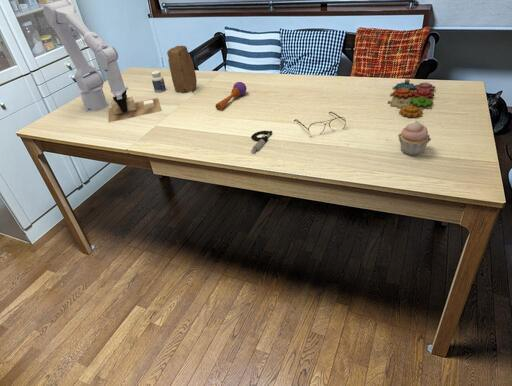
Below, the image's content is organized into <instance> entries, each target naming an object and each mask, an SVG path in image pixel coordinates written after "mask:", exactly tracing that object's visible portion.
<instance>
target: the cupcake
mask: <svg viewBox="0 0 512 386" xmlns="http://www.w3.org/2000/svg"><path fill="white" fill-rule="evenodd" d="M397 137H398V141H399V143H400V145H399V146H400V150H401V152H402V153H403V154H405V155H408V156H419V155H421V154H422V153H423V152H424V150H425V148H426V147H427V145H428V143H430V141H431V140H432V138H431V136H430V135H429V132H428V128H427V127H426V126H425V125H424V124H422V123H421V122H420V121H417V120H415V121H414V122H413V123H409V124H406V126H405V127H404V128H403V129H402V130H401V132H400V133H399V134H397Z"/></svg>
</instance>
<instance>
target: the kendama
mask: <svg viewBox="0 0 512 386" xmlns="http://www.w3.org/2000/svg"><path fill="white" fill-rule="evenodd" d="M247 88H248V87H247V85H246V83H244V82H242V81H237V82H236V83H234V84H233V87H232V89H231V93H230V95H229V96H227V97H226V98H224V99H222V100H220V101H219V102H217V103H216V104H215V109H216V110H217V111H223V110H224V108H225V106H227V104H228V103H229V102H230V101H231V100H232V99H233V98H239V97H241V96H244V95H245V94H246V93H247Z"/></svg>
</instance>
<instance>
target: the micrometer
mask: <svg viewBox="0 0 512 386" xmlns="http://www.w3.org/2000/svg"><path fill="white" fill-rule="evenodd" d="M272 134H273V131H272V130H260V131H257V132H255V133H253V134H252V135H251V140H252V141H254V142H256V143H255V144H254V145H253V146H252V147H251V150H250V153H251V154H255V153H256V152H258V151H259V150H260V149H261V148H262V147H263V146H264V144H266V142H268V140H269V136H271V135H272ZM260 135H261V137H258V136H260Z"/></svg>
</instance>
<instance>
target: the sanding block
mask: <svg viewBox="0 0 512 386" xmlns="http://www.w3.org/2000/svg"><path fill="white" fill-rule="evenodd" d="M126 102H127V109H128V111H127V112H122V111H121V109H120V107H119V105H118V104H117V103H116V102H115V101H114V100H113V99H112V100H110V104H111V108H113V111H114V114H115V115H120V114H125V113H129V112H134V111H136V106H135V103H136V102H135V99H134V97H133V96H127V101H126Z"/></svg>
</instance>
